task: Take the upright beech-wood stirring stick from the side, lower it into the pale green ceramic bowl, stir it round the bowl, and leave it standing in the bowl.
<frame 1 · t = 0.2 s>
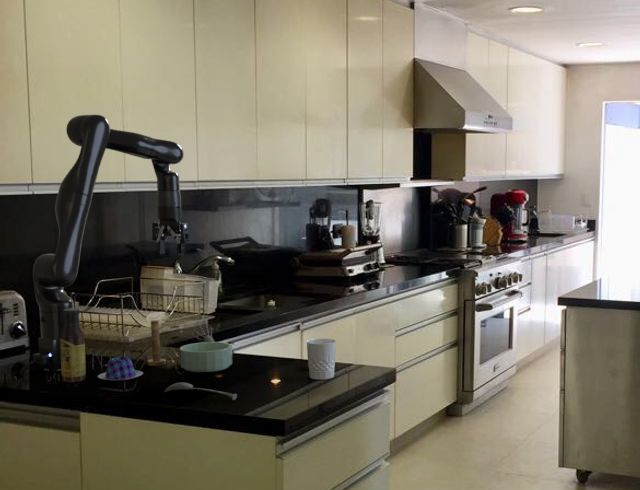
hand: (171, 254, 303), 29 cm above the countertop, tool pointing down, fingers open, 8 cm apart
sauce bottle: (74, 381, 253), on the countertop
soupspoon: (200, 396, 236), on the countertop
bowl: (206, 367, 269), on the countertop
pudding: (120, 378, 257), on the countertop
stirrer: (156, 364, 273), on the countertop
white cup: (322, 377, 255), on the countertop
kitchen whisk: (209, 346, 300), on the countertop
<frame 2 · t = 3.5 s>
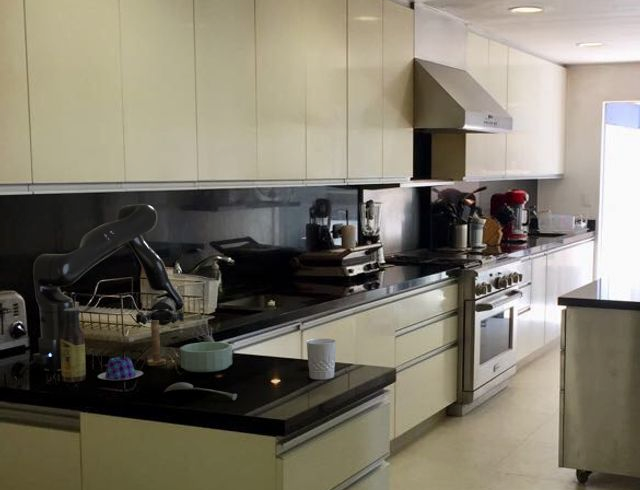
hand: (158, 320, 283), 11 cm above the countertop, tool horizontal, fingers open, 8 cm apart
nothing on the countertop moved.
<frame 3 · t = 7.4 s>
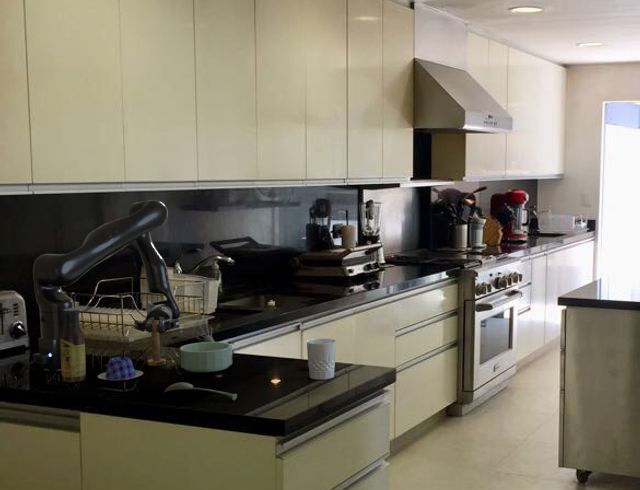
hand: (154, 329, 269), 11 cm above the countertop, tool horizontal, fingers closed on stirrer
stirrer: (156, 364, 273), on the countertop, touching gripper
everything else where it was.
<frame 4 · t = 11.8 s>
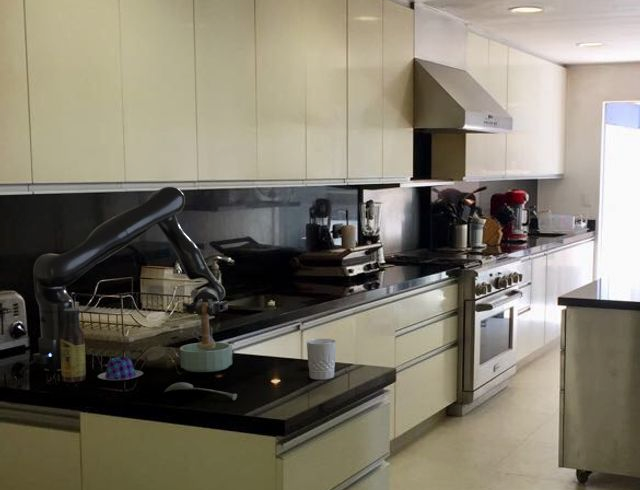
hand: (204, 311, 264), 17 cm above the countertop, tool horizontal, fingers closed on stirrer
stirrer: (206, 347, 268), point 6 cm above the countertop, touching gripper
everything else where it was.
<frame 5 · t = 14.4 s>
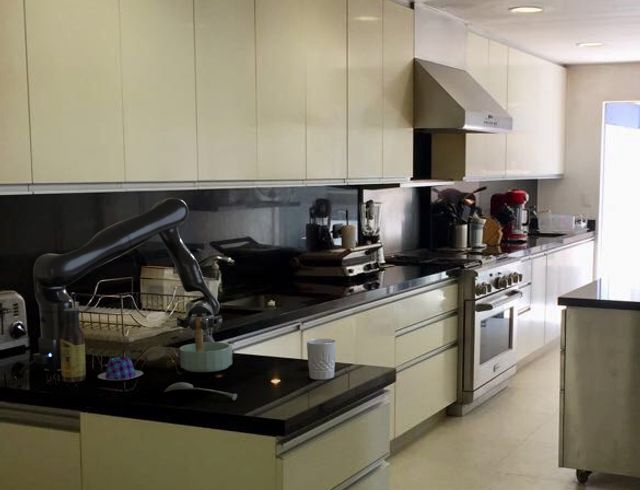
hand: (198, 326, 264), 13 cm above the countertop, tool horizontal, fingers closed on stirrer
stirrer: (200, 361, 268), point 2 cm above the countertop, touching gripper
everything else where it was.
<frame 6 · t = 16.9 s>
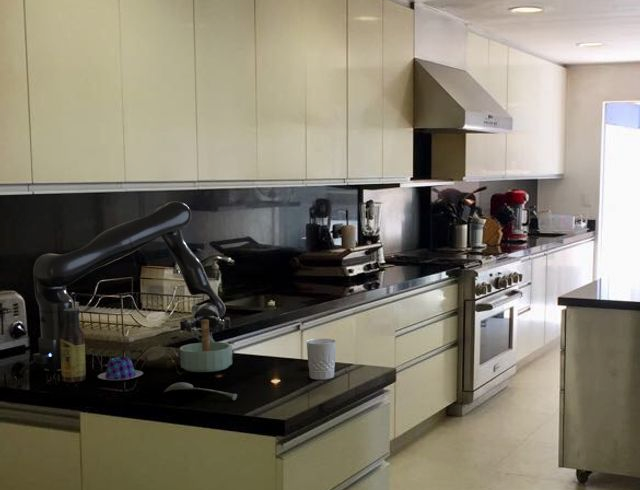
hand: (204, 327, 265), 12 cm above the countertop, tool horizontal, fingers open, 8 cm apart
stirrer: (206, 364, 269), point 1 cm above the countertop, touching bowl
everything else where it was.
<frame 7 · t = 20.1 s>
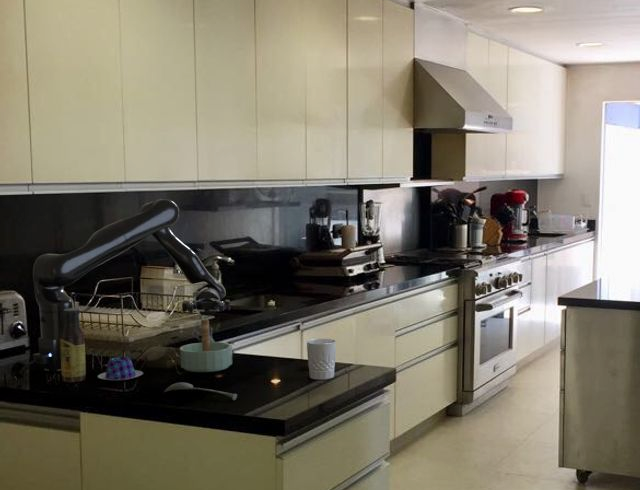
hand: (205, 309, 277), 15 cm above the countertop, tool horizontal, fingers open, 8 cm apart
nothing on the countertop moved.
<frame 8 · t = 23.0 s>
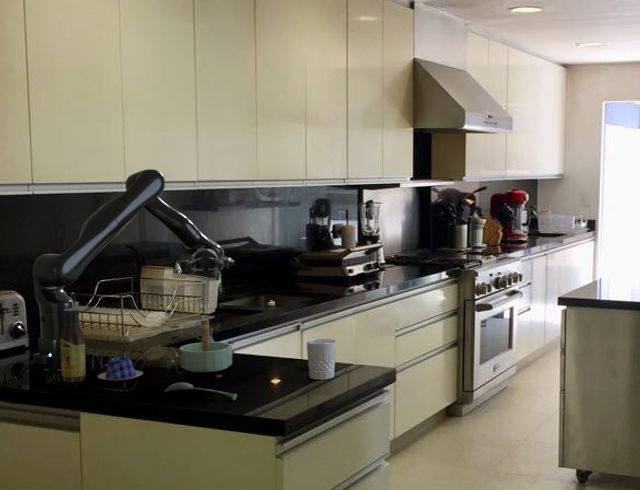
hand: (204, 266, 276), 28 cm above the countertop, tool horizontal, fingers open, 8 cm apart
nothing on the countertop moved.
at the end: stirrer inside the target area in the bowl (0.1 cm from its centre), point 0.8 cm above the bowl's base; stirrer tilted 0°; the gripper is holding nothing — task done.
